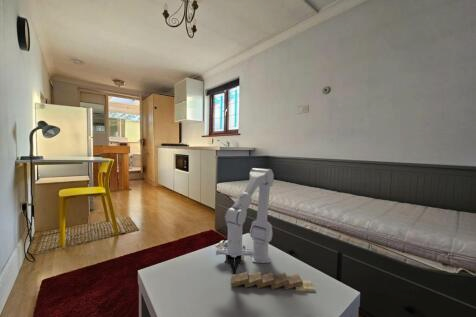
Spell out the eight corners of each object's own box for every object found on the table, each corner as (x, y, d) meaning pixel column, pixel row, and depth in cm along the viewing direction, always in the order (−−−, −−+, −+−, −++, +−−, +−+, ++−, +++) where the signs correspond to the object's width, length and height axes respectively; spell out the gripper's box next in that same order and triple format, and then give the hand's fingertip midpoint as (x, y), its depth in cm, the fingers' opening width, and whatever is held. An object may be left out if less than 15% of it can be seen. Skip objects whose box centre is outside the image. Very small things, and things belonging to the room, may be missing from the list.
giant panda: (246, 259, 96) (246, 239, 95) (244, 265, 90) (244, 245, 90) (217, 255, 99) (217, 236, 98) (213, 261, 93) (213, 241, 93)
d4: (268, 278, 80) (285, 272, 80) (269, 281, 80) (286, 276, 80) (270, 285, 75) (288, 279, 76) (272, 289, 75) (289, 283, 76)
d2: (243, 276, 80) (260, 271, 80) (245, 280, 80) (261, 275, 80) (244, 283, 76) (261, 278, 76) (245, 287, 76) (262, 282, 76)
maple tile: (293, 280, 79) (310, 280, 79) (293, 284, 80) (310, 284, 79) (296, 288, 75) (314, 288, 75) (296, 292, 75) (314, 292, 75)
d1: (231, 276, 80) (247, 271, 80) (232, 279, 81) (248, 275, 80) (230, 283, 76) (247, 278, 76) (231, 287, 76) (249, 282, 76)
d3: (255, 277, 80) (272, 272, 80) (256, 280, 80) (273, 275, 80) (256, 284, 76) (274, 279, 76) (257, 288, 76) (275, 283, 76)
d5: (281, 278, 80) (298, 273, 80) (282, 281, 80) (298, 277, 80) (284, 285, 75) (302, 280, 76) (285, 289, 76) (303, 284, 76)
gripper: (214, 242, 74) (214, 278, 75) (253, 244, 73) (253, 280, 74) (217, 234, 81) (217, 267, 82) (253, 236, 80) (252, 268, 81)
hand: (234, 272), depth 78 cm, fingers closed
